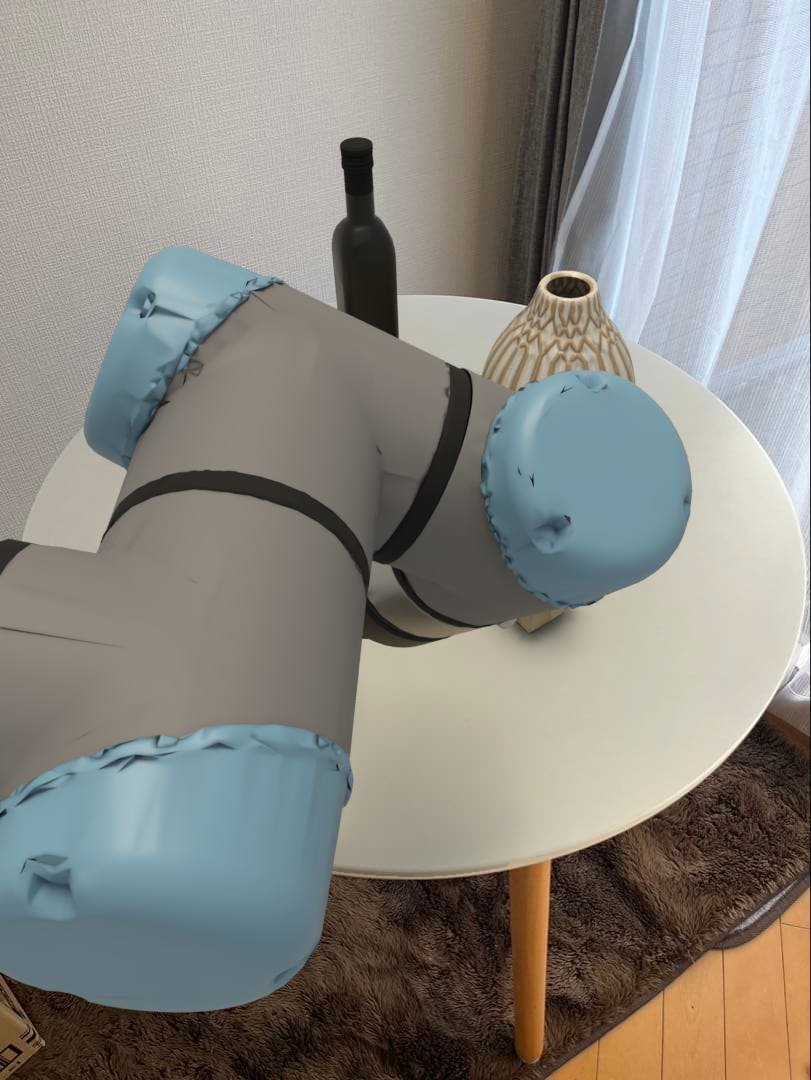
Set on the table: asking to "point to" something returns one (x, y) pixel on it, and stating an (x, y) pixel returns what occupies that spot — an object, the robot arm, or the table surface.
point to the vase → (559, 335)
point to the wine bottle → (364, 246)
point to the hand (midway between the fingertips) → (303, 619)
